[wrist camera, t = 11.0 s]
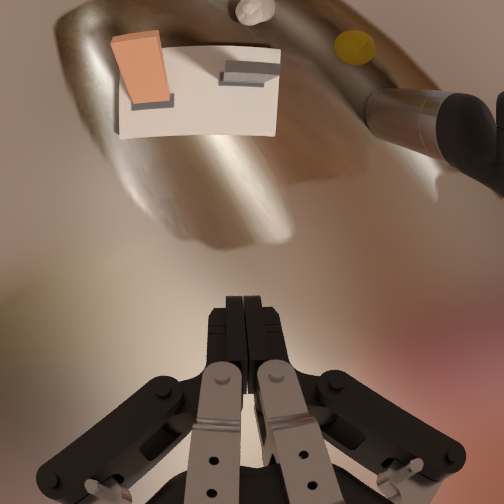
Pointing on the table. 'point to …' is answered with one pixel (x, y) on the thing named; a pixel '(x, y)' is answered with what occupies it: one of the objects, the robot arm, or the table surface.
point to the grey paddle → (250, 72)
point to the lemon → (354, 47)
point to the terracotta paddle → (142, 66)
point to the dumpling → (255, 11)
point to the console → (204, 96)
